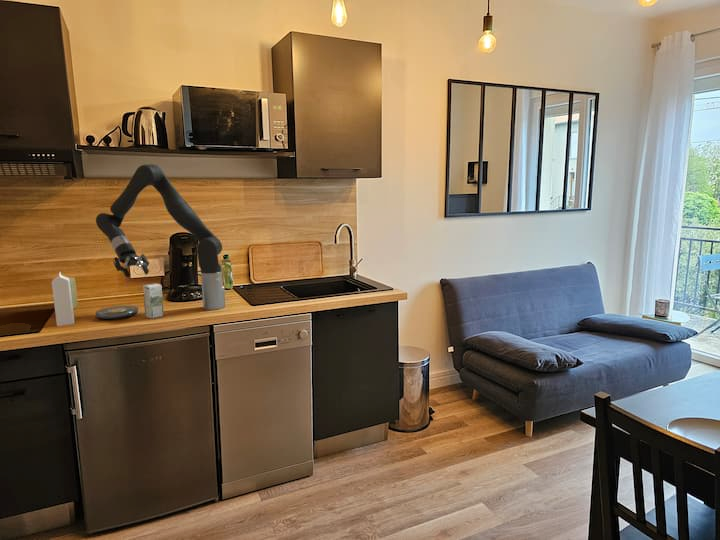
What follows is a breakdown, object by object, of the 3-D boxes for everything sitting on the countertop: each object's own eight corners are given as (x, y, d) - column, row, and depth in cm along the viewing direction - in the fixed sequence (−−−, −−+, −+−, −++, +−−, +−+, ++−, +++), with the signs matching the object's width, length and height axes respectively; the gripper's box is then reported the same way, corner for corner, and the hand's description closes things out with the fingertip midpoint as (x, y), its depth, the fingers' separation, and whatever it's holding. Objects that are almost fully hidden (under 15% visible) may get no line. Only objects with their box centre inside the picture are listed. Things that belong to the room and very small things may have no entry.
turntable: (126, 307, 228) (126, 303, 228) (145, 312, 218) (145, 308, 218) (88, 314, 215) (88, 311, 215) (107, 321, 205) (106, 317, 205)
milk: (57, 326, 202) (50, 274, 198) (58, 322, 207) (51, 272, 203) (73, 324, 204) (67, 272, 200) (74, 320, 210) (68, 270, 206)
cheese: (76, 316, 217) (72, 283, 214) (50, 319, 212) (46, 286, 210) (78, 306, 236) (75, 275, 233) (54, 308, 232) (51, 277, 229)
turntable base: (124, 311, 225) (124, 309, 225) (137, 315, 218) (137, 312, 218) (97, 316, 216) (97, 314, 215) (110, 321, 208) (110, 318, 208)
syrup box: (157, 314, 219) (154, 282, 216) (164, 316, 215) (161, 284, 213) (145, 317, 214) (142, 284, 212) (151, 319, 211) (149, 286, 208)
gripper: (109, 244, 216) (125, 271, 211) (140, 240, 227) (155, 267, 222) (105, 254, 220) (120, 282, 215) (135, 251, 231) (150, 277, 226)
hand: (138, 274), depth 218 cm, fingers open, 8 cm apart
